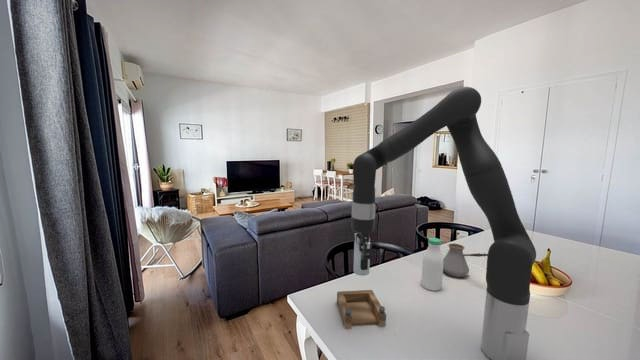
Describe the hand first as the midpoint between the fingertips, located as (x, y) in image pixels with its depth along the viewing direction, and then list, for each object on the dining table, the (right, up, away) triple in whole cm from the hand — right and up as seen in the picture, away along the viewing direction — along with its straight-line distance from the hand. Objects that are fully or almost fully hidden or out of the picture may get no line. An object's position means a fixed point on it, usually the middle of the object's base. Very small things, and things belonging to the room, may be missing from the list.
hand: (361, 265), depth 85 cm
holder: (0, -17, +2) cm, 17 cm away
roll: (0, -2, 0) cm, 2 cm away
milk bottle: (+32, -15, +20) cm, 41 cm away
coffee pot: (+49, -15, +27) cm, 58 cm away
